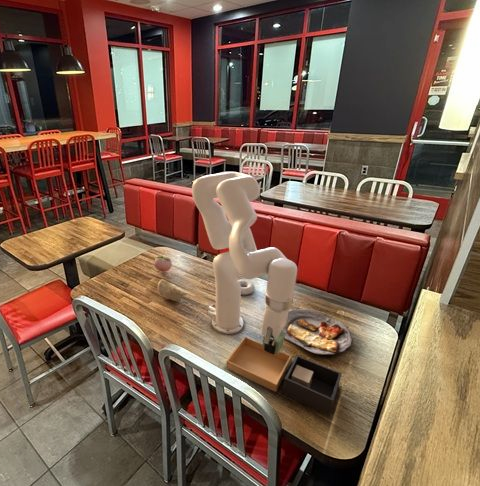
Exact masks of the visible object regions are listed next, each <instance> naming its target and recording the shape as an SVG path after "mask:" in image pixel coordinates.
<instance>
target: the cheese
mask: <svg viewBox="0 0 480 486" xmlns="http://www.w3.org/2000/svg"><path fill="white" fill-rule="evenodd" d="M157 291H158V293H159V294H160V295H161V296H162V297H164V298H165V300H167V301H168V300H171V301H173V302H179V301H180V299H181V298H182V297H183V296H187V295H188V292H187V291H185V290H183V289H182V288H181V287H179V286H177V285H175V284H174V283H172V282H169V281H167V280H165V279H163V278H161V279H160V280H159V281H158V283H157Z"/></svg>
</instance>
